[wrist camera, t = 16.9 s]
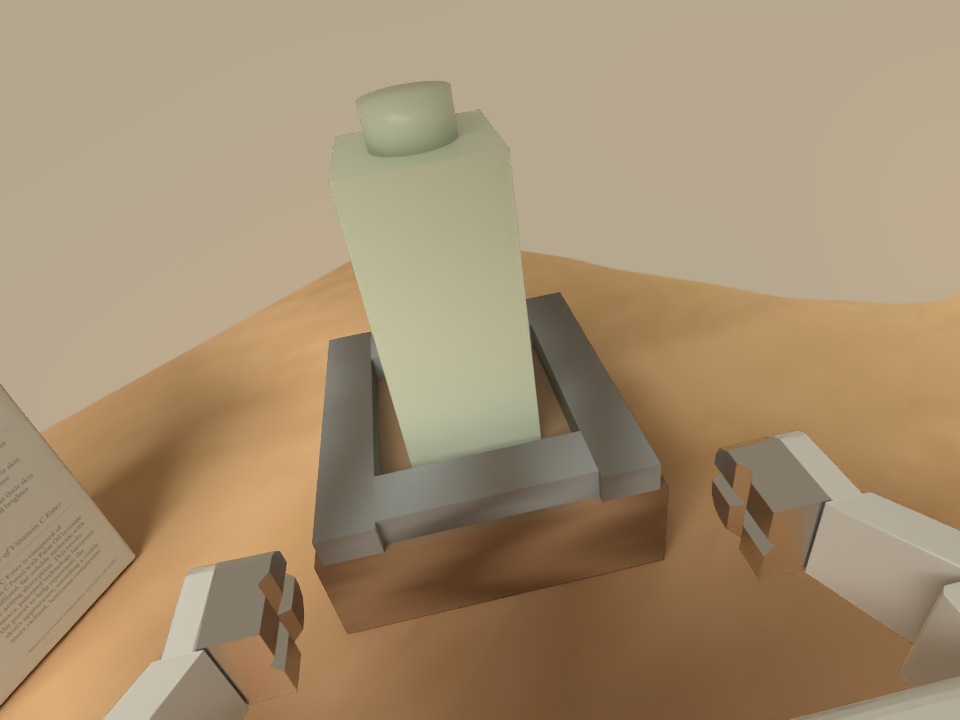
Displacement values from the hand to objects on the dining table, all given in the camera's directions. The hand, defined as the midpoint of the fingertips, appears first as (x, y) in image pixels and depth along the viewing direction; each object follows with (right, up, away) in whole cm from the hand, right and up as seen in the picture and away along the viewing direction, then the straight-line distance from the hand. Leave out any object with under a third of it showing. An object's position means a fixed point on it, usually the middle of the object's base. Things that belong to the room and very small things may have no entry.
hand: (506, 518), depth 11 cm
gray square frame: (0, -3, +16) cm, 16 cm away
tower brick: (-1, +1, +13) cm, 14 cm away
